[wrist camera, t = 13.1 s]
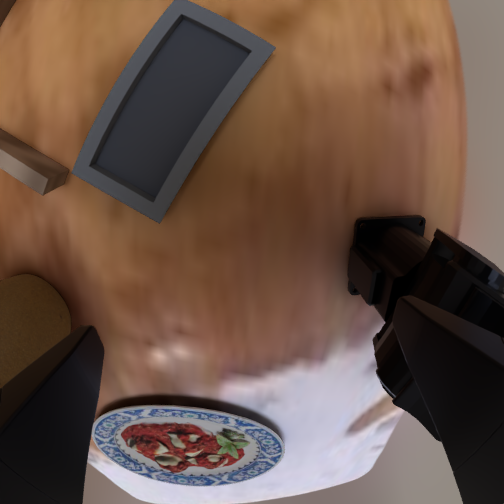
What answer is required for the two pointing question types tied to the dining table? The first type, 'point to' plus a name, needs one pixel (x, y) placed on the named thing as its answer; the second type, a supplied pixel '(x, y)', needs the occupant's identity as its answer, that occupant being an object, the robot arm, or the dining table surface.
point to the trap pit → (168, 106)
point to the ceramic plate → (187, 444)
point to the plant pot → (29, 322)
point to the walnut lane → (28, 152)
